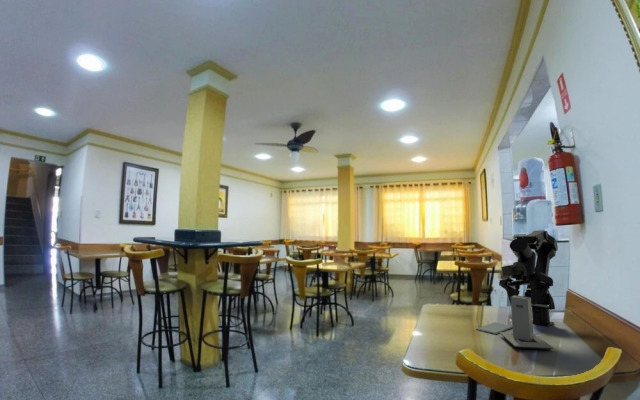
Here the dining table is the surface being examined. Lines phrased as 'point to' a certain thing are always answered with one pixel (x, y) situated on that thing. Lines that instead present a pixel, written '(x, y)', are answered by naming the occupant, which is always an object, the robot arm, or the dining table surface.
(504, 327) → the plate
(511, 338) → the electrical outlet
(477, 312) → the dining table surface
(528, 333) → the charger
